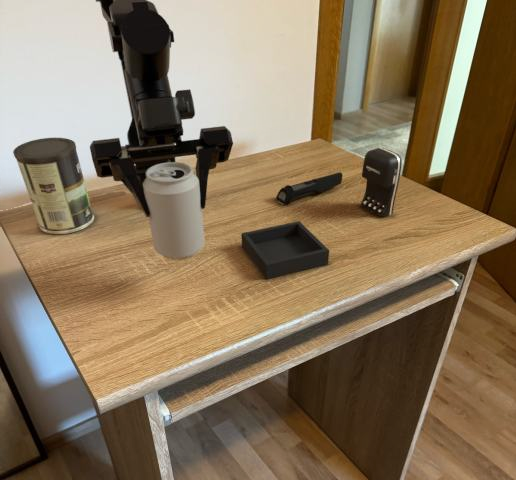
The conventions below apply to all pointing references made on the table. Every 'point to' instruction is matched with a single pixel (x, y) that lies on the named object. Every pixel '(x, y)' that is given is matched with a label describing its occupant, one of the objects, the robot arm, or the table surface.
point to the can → (174, 210)
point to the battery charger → (381, 180)
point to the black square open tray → (284, 249)
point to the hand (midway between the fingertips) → (175, 211)
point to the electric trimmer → (308, 188)
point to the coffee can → (55, 184)
